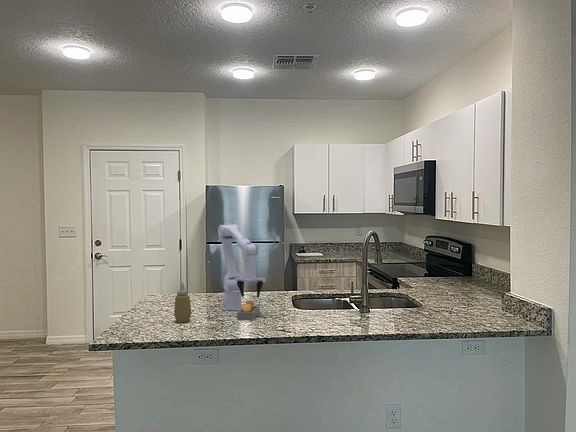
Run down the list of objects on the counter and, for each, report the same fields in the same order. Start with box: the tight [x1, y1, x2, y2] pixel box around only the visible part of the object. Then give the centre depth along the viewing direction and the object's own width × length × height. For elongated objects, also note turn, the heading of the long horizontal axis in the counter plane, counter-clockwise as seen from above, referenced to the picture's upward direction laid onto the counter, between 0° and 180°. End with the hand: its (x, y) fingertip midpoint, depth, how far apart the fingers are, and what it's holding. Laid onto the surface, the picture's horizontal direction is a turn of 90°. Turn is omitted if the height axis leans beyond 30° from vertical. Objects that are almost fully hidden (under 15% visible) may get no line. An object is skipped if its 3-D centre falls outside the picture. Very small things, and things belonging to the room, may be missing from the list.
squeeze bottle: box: [173, 282, 192, 323], centre depth 214 cm, size 8×8×18 cm
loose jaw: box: [241, 303, 251, 312], centre depth 218 cm, size 4×4×6 cm
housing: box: [236, 300, 261, 321], centre depth 221 cm, size 8×14×6 cm, turn 172°
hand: (250, 296), depth 222 cm, fingers open, 7 cm apart
